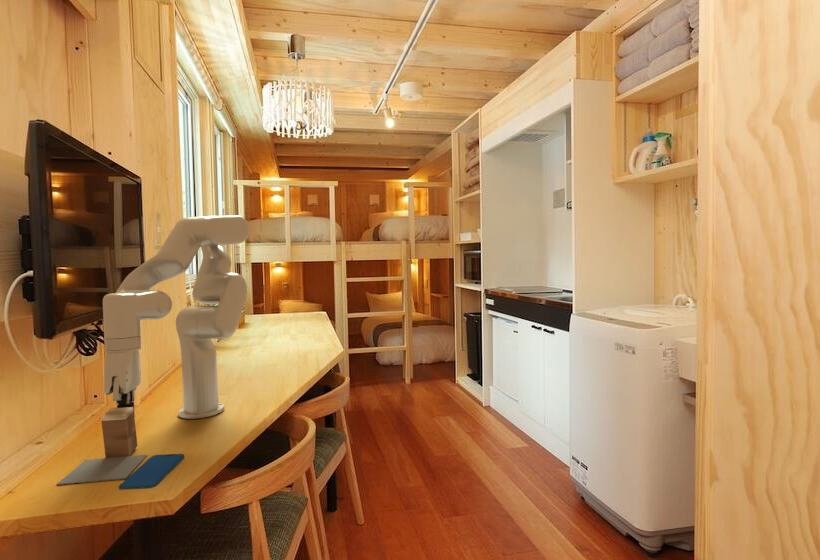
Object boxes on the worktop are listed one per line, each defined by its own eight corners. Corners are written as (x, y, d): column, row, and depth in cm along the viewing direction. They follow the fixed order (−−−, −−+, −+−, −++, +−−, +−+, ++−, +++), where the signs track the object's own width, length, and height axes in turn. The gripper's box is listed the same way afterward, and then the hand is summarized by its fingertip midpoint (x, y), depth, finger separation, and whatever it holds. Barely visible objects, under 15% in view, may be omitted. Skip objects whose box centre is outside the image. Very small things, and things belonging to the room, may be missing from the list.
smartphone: (116, 487, 96) (152, 455, 111) (116, 492, 96) (153, 459, 111) (154, 486, 96) (185, 453, 111) (155, 490, 96) (186, 457, 111)
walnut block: (114, 447, 116) (110, 408, 114) (137, 446, 117) (133, 406, 115) (105, 458, 111) (101, 417, 110) (129, 456, 112) (125, 416, 110)
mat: (85, 461, 110) (85, 459, 110) (147, 455, 112) (147, 454, 112) (56, 485, 98) (56, 484, 98) (126, 479, 100) (126, 477, 100)
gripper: (119, 340, 123) (122, 411, 124) (90, 350, 109) (94, 431, 109) (151, 338, 125) (153, 409, 125) (127, 348, 110) (130, 428, 111)
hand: (126, 419), depth 117 cm, fingers closed
